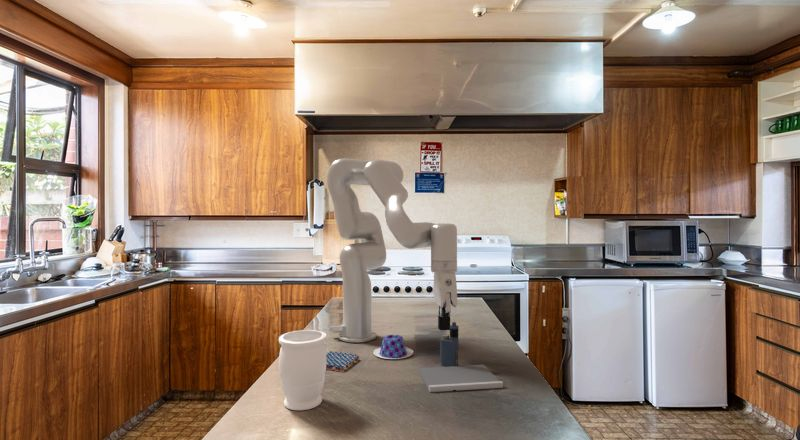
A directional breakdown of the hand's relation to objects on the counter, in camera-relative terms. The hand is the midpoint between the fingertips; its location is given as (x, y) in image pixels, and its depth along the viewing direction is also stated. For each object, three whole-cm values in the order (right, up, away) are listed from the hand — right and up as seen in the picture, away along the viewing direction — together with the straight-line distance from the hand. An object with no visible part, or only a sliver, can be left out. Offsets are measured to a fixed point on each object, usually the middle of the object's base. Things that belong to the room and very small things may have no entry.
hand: (444, 329), depth 127 cm
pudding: (-15, -9, +4) cm, 18 cm away
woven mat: (-31, -9, -4) cm, 32 cm away
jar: (-34, -9, -29) cm, 46 cm away
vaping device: (+1, -9, -6) cm, 11 cm away
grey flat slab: (+2, -9, -15) cm, 17 cm away
